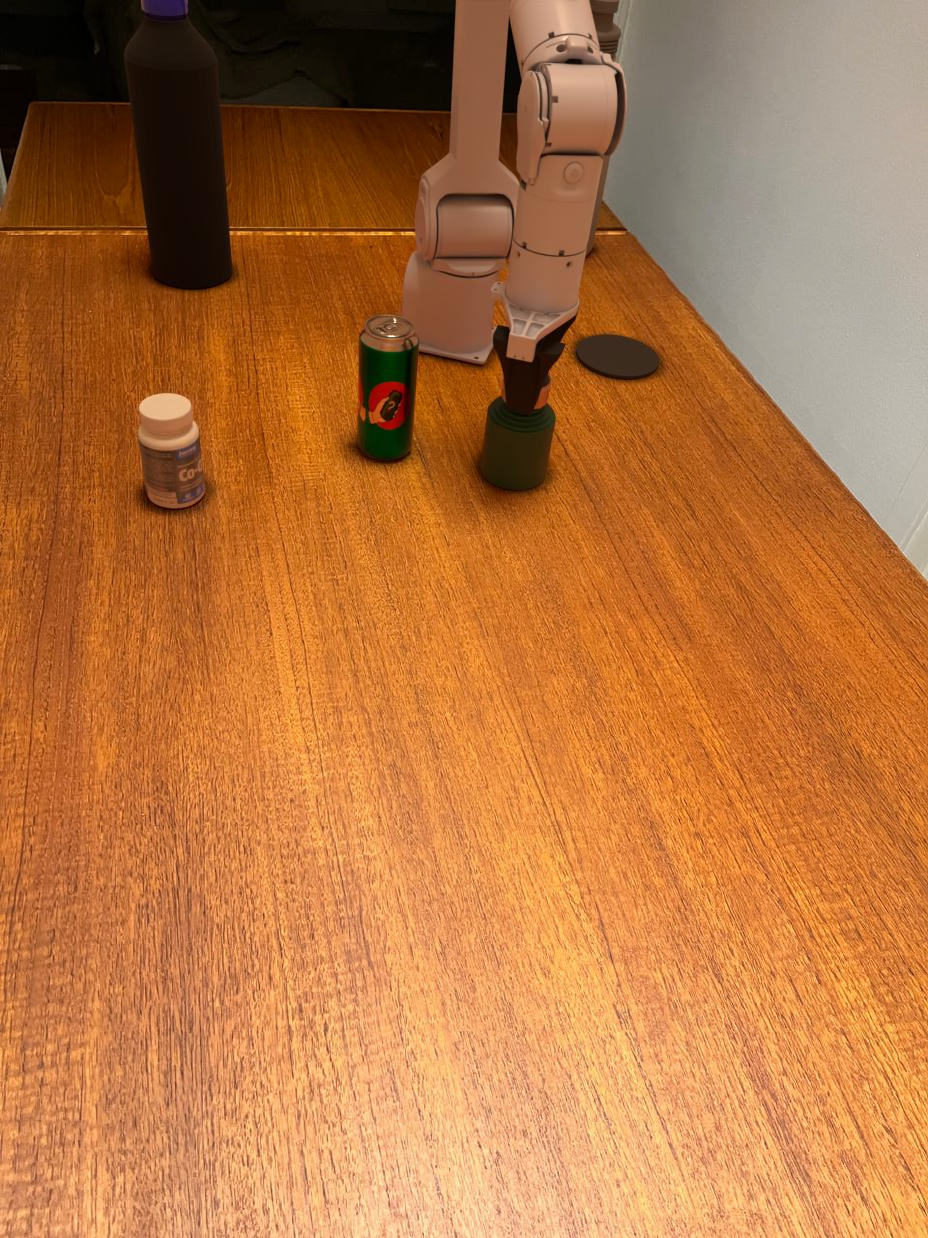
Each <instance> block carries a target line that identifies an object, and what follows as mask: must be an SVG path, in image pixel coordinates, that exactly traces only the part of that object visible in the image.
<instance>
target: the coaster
mask: <svg viewBox="0 0 928 1238" xmlns="http://www.w3.org/2000/svg"><path fill="white" fill-rule="evenodd" d="M575 355H576V358H577V359H578V361H579V362H580V364H582V366H584V367H586V369H589V370H590V371H592V372H594V373H596V374H597V375H598V374H599V375H601V376H603V377H608V378H612V379H617V380H638V379H643V378H646V377H650V376H651V375H653V374H654V373H655V372H656V371H657V370H658V368H659V364H660V359H659V356H658V354H657V353H656V351H655V350H654V349H653V348H652V347H650V346H649V345H648V344H646V343H643V342H642V341H640V340H637V339H635V338H632V337H628V336H624V335H619V334H611V333H610V334H608V333H606V334H605V333H603V334H595V335H591V336H588V337H585V338H583V339H581V340H580V341H579V343H578V344H577V346H576V349H575Z"/></svg>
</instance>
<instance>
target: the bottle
mask: <svg viewBox="0 0 928 1238" xmlns="http://www.w3.org/2000/svg"><path fill="white" fill-rule="evenodd" d="M140 2H141V4H140V5H141V10H142V11H143V12H144V17H143V20H142V22H141V24H140V26H139V27H138V29H137V30H136V32H135V33H134V34H133V36H132V37H131V38H130V40H129V41H128V42H127V44H126V46H125V49H124V53H123V59H124V67H125V74H126V82H127V88H128V90H127V91H128V96H129V97H128V98H129V104H130V105H129V106H130V111H131V119H132V128H133V135H134V143H135V149H136V158H137V165H138V173H139V179H140V187H141V195H142V203H143V211H144V215H145V216H144V218H145V226H146V233H147V240H148V241H147V242H148V249H149V256H150V264H151V270H152V271H151V272H152V275H153V276H154V277H155V278H156V279H157V280H159V281H160V282H161V283H164V284H166V285H168V286H171V287H176V288H181V289H195V290H196V289H205V288H212V287H215V286H217V285H220V284H223V283H224V282H225V281H226V280H228V279H229V278H230V277H231V276H232V274H233V258H232V257H233V256H232V246H231V232H230V218H229V205H228V203H229V202H228V192H227V178H226V177H227V176H226V164H225V151H224V149H225V148H224V137H223V136H224V135H223V124H222V110H221V109H222V108H221V96H220V83H219V82H220V80H219V70H218V69H219V68H218V58H217V56H216V53H215V52H214V49H213V48H212V47H211V46H210V44H209V43H208V41H207V40H206V39H204V37H203V36H202V35H201V34H200V33H199V32H198V30H197V29H196V28H195V27H194V25H193V24H192V22H191V20H190V17H189V15H188V13H189V2H188V0H140Z"/></svg>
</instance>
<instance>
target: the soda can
mask: <svg viewBox="0 0 928 1238" xmlns="http://www.w3.org/2000/svg"><path fill="white" fill-rule="evenodd" d="M419 355H420V351H419V337H418V335H417V334H416V327H415V325H414V324H413V323H412V322H411V321H410V320H408V319H406V318H404V317H401V315H395V314H378V315H374V316H371V317H369V318H367V319H366V320H365V321H364V323H363V329H362V330H361V331H360V333H359V336H358V367H357V369H358V370H357V376H358V377H357V412H356V413H357V415H356V416H357V417H356V420H357V421H356V445H357V446H358V448H359V449H360V450H361V451H362V453H363V454H365V455H366V456H367V457H368V458H372V459H374V460H379V461H394V460H399V459H400V458H402V457H404V456H406V454H408V453H409V452H410V451H411V449H412V447H413V443H414V442H413V441H414V427H415V426H414V425H415V413H416V400H417V399H416V398H417V384H418V383H417V382H418V369H419V368H418V367H419Z"/></svg>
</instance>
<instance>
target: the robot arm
mask: <svg viewBox="0 0 928 1238" xmlns="http://www.w3.org/2000/svg"><path fill="white" fill-rule="evenodd" d="M454 16H455V19H454V36H453V37H454V40H453V59H452V65H453V66H452V83H451V84H452V85H451V106H450V107H451V108H450V127H449V130H450V131H449V150H448V153H447V154H446V155H445V156H444V157H442V159H440V160H439V161H438V162H436V163H435V164H434V165H432V166H431V167H430V168H428V169H427V170H426V171H425V172H424V173H423V174H422V175H421V176H420V180H419V182H418V196H417V201H416V204H415V211H414V236H415V237H414V238H415V244H416V249H417V250H414V251H413V252H412V253H411V255H410V256H409V259H408V262H407V264H406V268H405V272H404V278H403V283H402V298H401V315H400V316H401V317H404V318H406V319H408V320H410V321H411V322H412V323H413V324H414V325H415V327H416V334H417V335H418V337H419V352H421V353H426V354H430V355H434V356H440V357H444V358H448V359H454V360H458V361H461V362H462V361H463V362H468V363H472V364H477V365H485V364H486V362H487V361H488V358H489V357H490V354H491V352H492V351H493V349H494V351H495V354H496V355H497V357H498V360H499V362H500V366H501V370H502V375H503V377H504V385H505V397H506V404H507V409H508V410H509V411H513V412H517V413H522V414H526V415H531V414H532V412H533V410H534V408H535V405H536V403H537V400H538V398H539V395H540V392H541V389H542V386H543V383H544V380H545V378H546V376H547V374H549V373H550V371H551V369H552V368H553V366H554V365H555V364H556V363H557V362H558V360H559V359H560V358H561V356H562V354H563V353H564V351H565V348H566V345H567V343H566V342H562V340H563V338H564V337H565V335H566V333H567V332H568V331H569V329H570V328H571V326H572V325H573V324H574V323H575V321H576V319H577V317H578V315H579V309H580V308H579V307H580V297H579V293H580V287H581V284H582V283H581V282H582V277H583V272H584V265H585V260H586V256H587V255H586V250H587V245H588V240H589V234H590V229H591V223H592V218H593V213H594V207H595V202H596V196H597V191H598V185H599V180H600V174H601V169H602V164H603V160H602V158H601V156H602V155H603V154H604V155H605V156H610V157H611V156H612V155H613V154H614V153H615V152H616V151H617V149H618V147H619V145H620V143H621V141H622V138H623V134H624V131H625V126H626V120H627V109H628V93H627V92H628V91H627V84H626V79H625V72H624V69H623V68H622V66H621V65H620V64H619V63H618V62H616V61H615V62H613V61H612V59H611V56H610V54H607V53H603V52H601V51H600V47H599V42H598V38H597V33H596V29H595V24H594V20H593V15H592V11H591V6H590V2H589V0H455V15H454ZM509 23H510V27H511V34H512V38H513V43H514V47H515V53H516V59H517V64H518V68H519V73H520V78H521V84H520V88H519V89H520V90H519V92H518V93H519V94H518V96H517V108H516V126H517V127H516V128H517V149H516V156H515V161H516V165H515V166H516V172H518V174H519V176H520V177H519V179H518V178H517V176H516V175H515V174H514V173H513V172H512V171H511V170H510V169H509V168H508V167H506V166H505V165H504V164H503V163H502V162H501V161H500V160H499V159H500V158H499V157H500V144H501V143H500V142H501V129H502V117H503V105H504V104H503V102H504V101H503V100H504V89H505V75H506V73H505V72H506V63H507V61H506V60H507V48H508V35H509ZM507 261H509V262H508V268H507V269H508V270H507V277H506V282H505V281H499V277H500V271H505V269H506V263H507ZM496 301H498V302H500V303H501V304H502V307H503V310H504V315H505V319H506V322H507V326H506V325H502V324H498V325H496V326H494V325H493V324H494V316H495V307H496Z"/></svg>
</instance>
